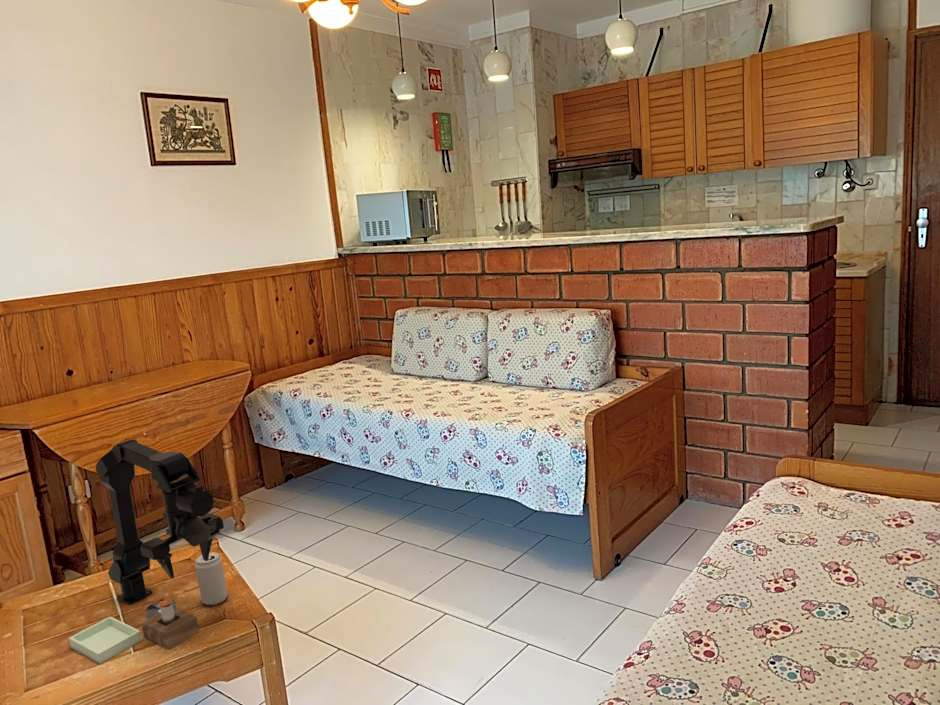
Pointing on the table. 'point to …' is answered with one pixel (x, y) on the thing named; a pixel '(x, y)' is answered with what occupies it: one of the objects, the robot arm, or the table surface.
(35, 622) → the table surface
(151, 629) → the block
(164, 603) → the pin
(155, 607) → the dark grey knobbed lid
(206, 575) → the beverage can
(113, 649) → the tray
